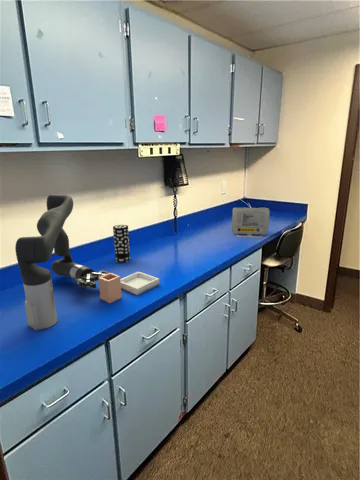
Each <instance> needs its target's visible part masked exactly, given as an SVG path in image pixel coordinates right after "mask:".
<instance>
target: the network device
mask: <svg viewBox="0 0 360 480" xmlns="http://www.w3.org/2000/svg"><path fill="white" fill-rule="evenodd" d="M270 213H271V211H270V208H268V207H233V208H232V216H231V217H232V219H231V232H232V233H233V234H236V237H239V238H264V235H267V234H268V233H269V229H270V228H269V226H270V225H269V224H270Z"/></svg>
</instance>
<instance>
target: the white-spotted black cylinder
mask: <svg viewBox="0 0 360 480" xmlns="http://www.w3.org/2000/svg"><path fill="white" fill-rule="evenodd" d="M112 231H113V246H114V247H113V248H114V258H115V259H114V260H115V262H116V263H120V264H121V263H122V264H123V263H128V262H130V261H131V251H130V250H131V249H130V236H129V225H127V224H117V225H114V226H113V227H112Z"/></svg>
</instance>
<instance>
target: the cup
mask: <svg viewBox="0 0 360 480" xmlns="http://www.w3.org/2000/svg"><path fill="white" fill-rule="evenodd" d="M98 278H99V281H98V286H99V289H98V290H99V297H100V300H102V301H105V302H106V303H108V304H111V303H113V302H116V301H118V300H120V299H122V298H123V297H122V288H121V281H120V279H121V276H120V275H117V274H115V273H112V272H109V274H106V275H103V276H101V277H100V276H99V277H98Z"/></svg>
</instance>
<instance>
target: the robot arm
mask: <svg viewBox="0 0 360 480" xmlns="http://www.w3.org/2000/svg"><path fill="white" fill-rule="evenodd" d="M73 209H74V200H73V198H72V196H71V195H68V194H56V193H55V194H53V193H51V194H48V196H47V198H46V210H47V211H44V212H43V213H42V214H41V216H40V217H39V219H38V220H37V223H36V229H37V232H38V233H39V235H40V236H38V235H37V236H22V237H19V238H17V240H16V242H15V249H14V250H15V258H16V260H17V264H18V265H17V266H18V269H19V272H20V277H21V279H22V284H23V288H24V295H25V301H24V309H25V314H26V320H27V325H28V326H29V327H30V328H31V329H32V330H34V331H36V332H37V331H39V330H43V329H44V330H45V329H48V328H52V327H53V326H54V325H55V324H57V322H58V315H57V308H56V302H55V293H54V287H53V280H52V274H51V271H52V272H53V274H55V275H56V276H61V277H69V278H72V279H74V280H75V281H76V285H77V286H79V287H81V288H83V289H86V287H88V288H91V289H96V288H97V284H96V283H95V282H99V278H98V277H101V276H103V275H106V274H109V273H110V272H109V271H107V270H103V269H101V270H99V272H95V271H94V270H93V268H91V267H88V266H85V265H82V264H79V263H76V262H74V260H73V258H72V254H71V252H70V251H71V250H70V240H69V236H68V234H67V232H66V231H65V230H64V225H65V222H66V220H67V218H68V217H69V216H70V215H71V214H72V211H73ZM53 252H54V255H55V256H56V257H62V258H60V259H57V260H54V261H53V262H51V271H50V270H49V269H47V268H45V267H42V266H40V265H37V264H42V263H43V264H44V263H46V262H47V263H48V261H50V259H51V258H52V256H53Z"/></svg>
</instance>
